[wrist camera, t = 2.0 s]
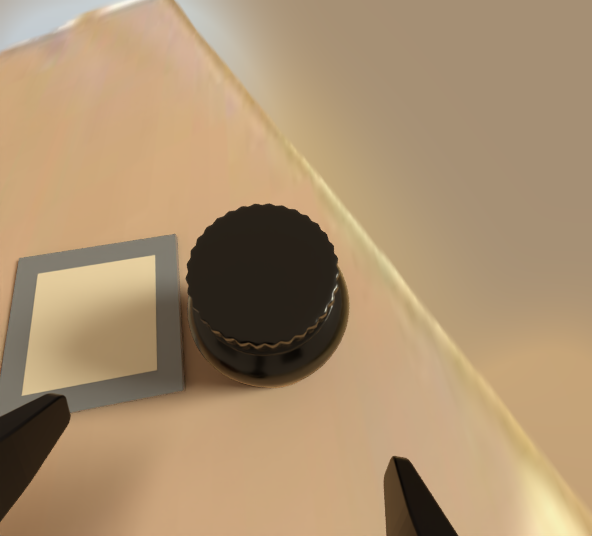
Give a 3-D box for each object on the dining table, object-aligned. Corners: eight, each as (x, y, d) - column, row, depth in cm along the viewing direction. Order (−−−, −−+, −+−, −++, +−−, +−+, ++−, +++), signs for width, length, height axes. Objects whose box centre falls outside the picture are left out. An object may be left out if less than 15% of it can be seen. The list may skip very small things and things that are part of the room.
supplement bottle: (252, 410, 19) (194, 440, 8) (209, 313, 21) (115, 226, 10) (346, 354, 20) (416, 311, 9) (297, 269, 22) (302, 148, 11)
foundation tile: (184, 390, 19) (182, 390, 19) (-2, 427, 18) (-10, 428, 18) (177, 236, 23) (175, 233, 23) (23, 260, 22) (18, 257, 22)
